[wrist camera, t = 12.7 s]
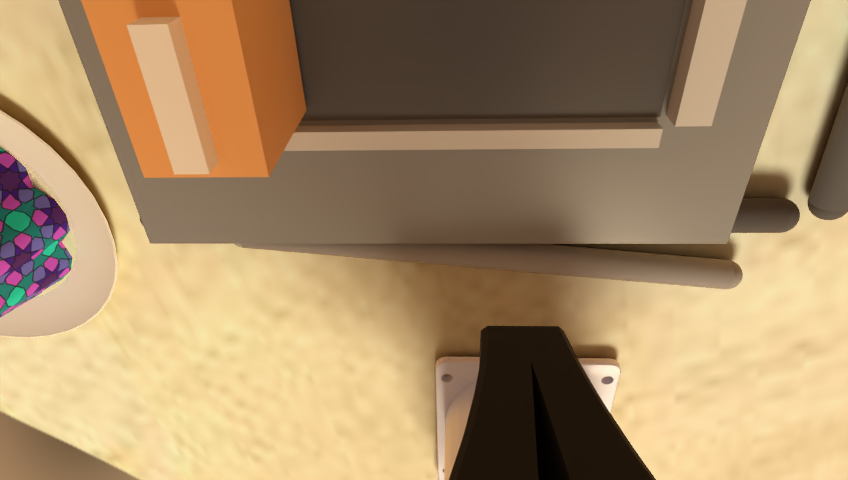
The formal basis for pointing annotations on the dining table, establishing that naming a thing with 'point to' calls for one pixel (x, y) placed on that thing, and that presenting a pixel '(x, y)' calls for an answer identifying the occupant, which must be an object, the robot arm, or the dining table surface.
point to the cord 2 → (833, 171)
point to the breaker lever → (202, 82)
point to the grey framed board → (494, 124)
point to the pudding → (48, 241)
